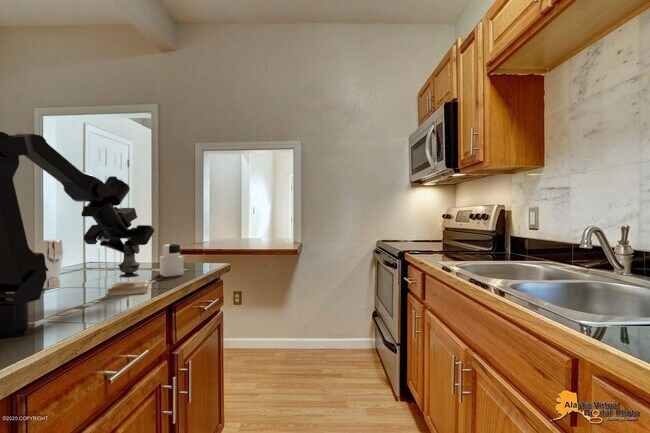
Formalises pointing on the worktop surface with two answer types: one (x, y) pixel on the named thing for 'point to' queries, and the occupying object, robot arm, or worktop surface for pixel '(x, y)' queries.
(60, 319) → the worktop surface
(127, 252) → the salt shaker
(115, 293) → the oak base
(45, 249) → the beer glass
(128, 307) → the worktop surface
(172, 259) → the medicine bottle
